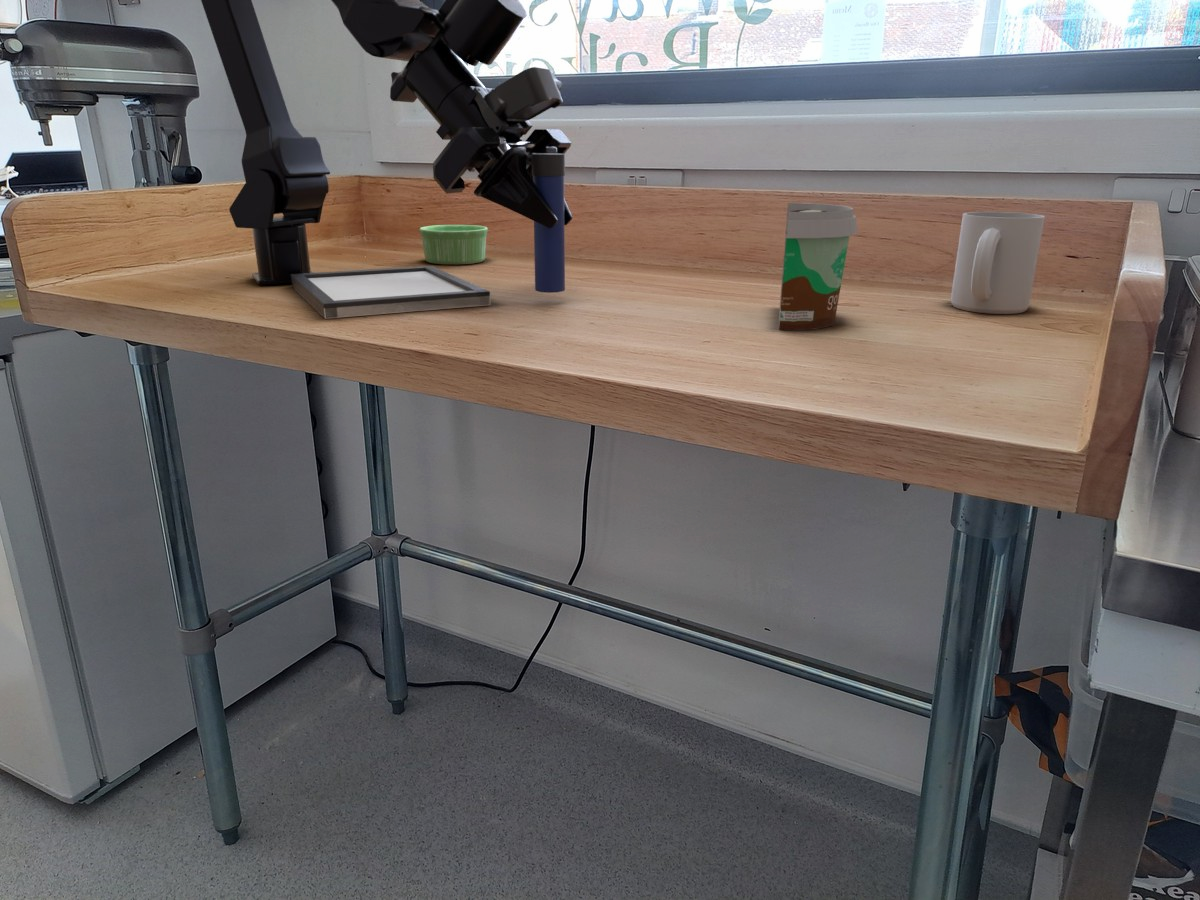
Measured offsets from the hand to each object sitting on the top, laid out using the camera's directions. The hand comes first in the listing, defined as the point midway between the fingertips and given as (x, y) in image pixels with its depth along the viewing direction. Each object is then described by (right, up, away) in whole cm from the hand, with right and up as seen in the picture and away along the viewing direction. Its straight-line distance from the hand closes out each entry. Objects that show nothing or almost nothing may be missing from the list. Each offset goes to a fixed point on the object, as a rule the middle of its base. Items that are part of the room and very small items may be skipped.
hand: (561, 223), depth 83 cm
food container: (+23, -10, -5) cm, 26 cm away
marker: (-1, -6, +3) cm, 7 cm away
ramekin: (-16, +3, +32) cm, 36 cm away
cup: (+42, -8, +1) cm, 42 cm away
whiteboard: (-19, -6, +6) cm, 21 cm away
